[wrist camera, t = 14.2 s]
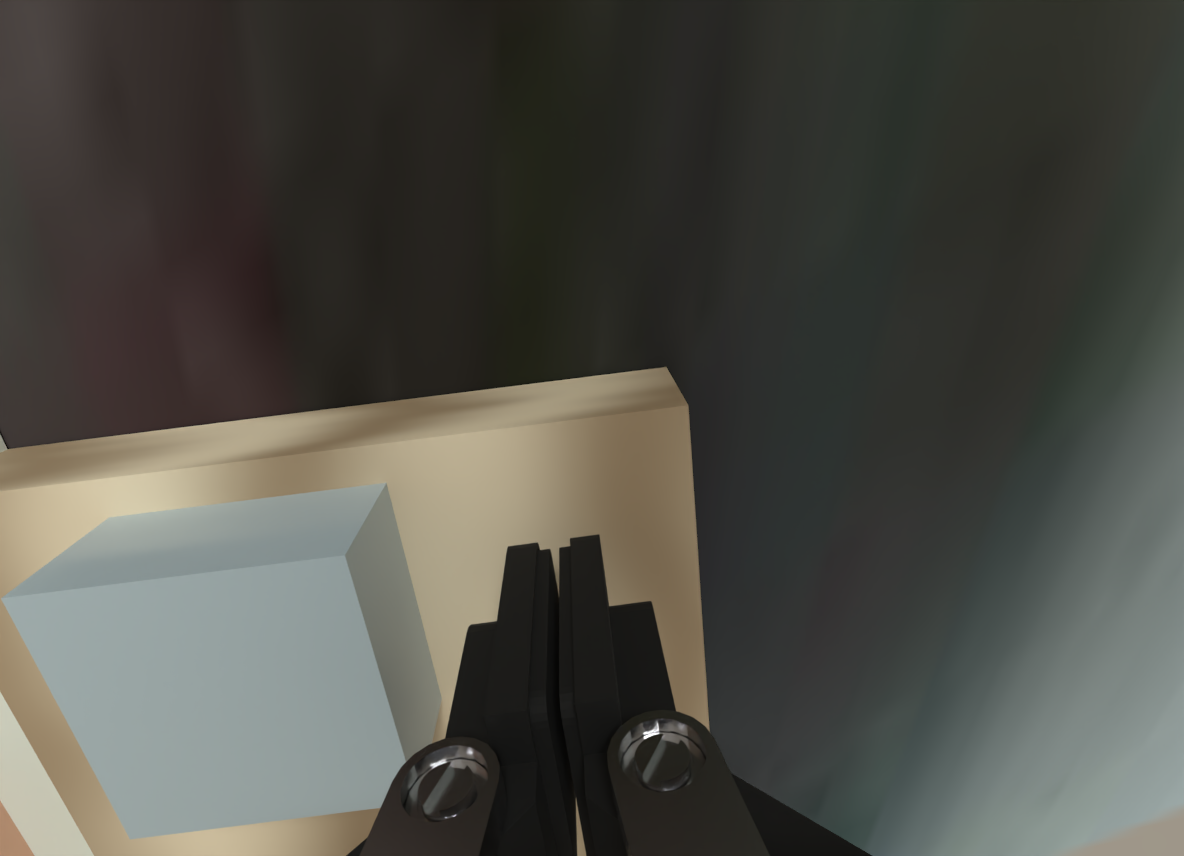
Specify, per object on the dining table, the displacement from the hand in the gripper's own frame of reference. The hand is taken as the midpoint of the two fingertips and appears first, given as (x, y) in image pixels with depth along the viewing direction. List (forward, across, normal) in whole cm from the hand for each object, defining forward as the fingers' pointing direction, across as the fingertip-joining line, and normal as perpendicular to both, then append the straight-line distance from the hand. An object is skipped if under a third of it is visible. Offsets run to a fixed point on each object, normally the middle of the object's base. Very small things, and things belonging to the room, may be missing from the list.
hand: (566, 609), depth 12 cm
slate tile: (0, +5, 0) cm, 5 cm away
